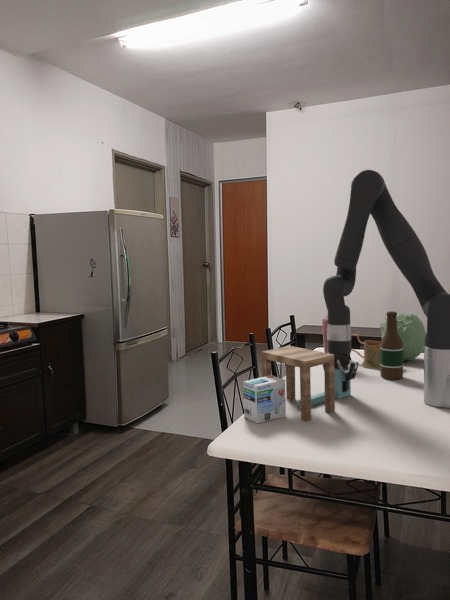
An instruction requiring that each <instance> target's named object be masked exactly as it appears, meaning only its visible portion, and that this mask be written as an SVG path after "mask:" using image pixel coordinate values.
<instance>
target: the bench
mask: <svg viewBox="0 0 450 600" xmlns="http://www.w3.org/2000/svg"><path fill="white" fill-rule="evenodd" d="M272 362H277V363H281V364H284V365H285V398H286V400H288V401H293V400H294V401H295V400H296V368H299V387H300V389H299V390H300V392H299V394H300V399H299V400H300V401H301V408H300V421H303V422H310V421H312V406H311V396H312V394H311V390H312V389H311V386H312V385H311V368H313V367H318V366H321V365H322V364H324V368H323V372H324V392H325V401H324V412H325V413H328V414H333V413H335V412H336V402H335V401H336V398H335V378H334V354H329V353H324V351H318V350H313V349H309V348H308V349H307V348H302V347H299V346H293V345H287V346H281V347H277V348H273V349H267V350H263V351H261V377H266V376H270V375H272ZM322 366H323V365H322Z"/></svg>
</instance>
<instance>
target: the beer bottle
mask: <svg viewBox="0 0 450 600" xmlns="http://www.w3.org/2000/svg"><path fill="white" fill-rule="evenodd" d="M397 313H398V312H397V311H387V312H386V313H385V314H386V317H387V325H386V333H385V335H384V337H383V338H382V337H381V341H380V342H381V346H380V369H379V370H380V377H381V378H382V379H383V380H388V381H400V380H401V379H403V377H404V361H403V342H402V339H401V338H400V336H399V335H398V330H397Z"/></svg>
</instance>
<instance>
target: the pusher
mask: <svg viewBox="0 0 450 600" xmlns="http://www.w3.org/2000/svg"><path fill="white" fill-rule="evenodd" d="M349 369H350V367H349ZM343 370H344V371H345V370H347V369H343ZM345 375H346V373H345ZM334 378H335V399H338V400H339V399H343V398H346V397H348V396H351V395H352V394H351V393H352V392H351V391H352V389H351V386H352V385H351V380H352V379H351V380H349V390H348V391H347V392H342V381H343V380H342V374H341V370H339V369H336V368H334ZM323 402H324V403H325V391H324V392H321V393H316V394H315V395H311V407H312V406H315V405H318V404H321V403H323ZM297 407H298V408H300V409H301V401H300V399H299V400H297Z"/></svg>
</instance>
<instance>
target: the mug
mask: <svg viewBox="0 0 450 600" xmlns="http://www.w3.org/2000/svg"><path fill="white" fill-rule="evenodd" d="M352 336H353V337H354V336H355V337H357V341H358V342H359V343H360V344H362V345H363V355H362V354H361V353H360V352H358V351H357V350H355V349H354V348H352V347H351V352H355V353H356V354H357V355H358V356H359V357H360V358H362V359H363V362H362V363H361V367H363V368H365V369H371V370H380V346H381V341H378V340H369V339H367V340H363V341H361V340H360V334H356V333H355V334H354V333H351V337H352Z"/></svg>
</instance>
